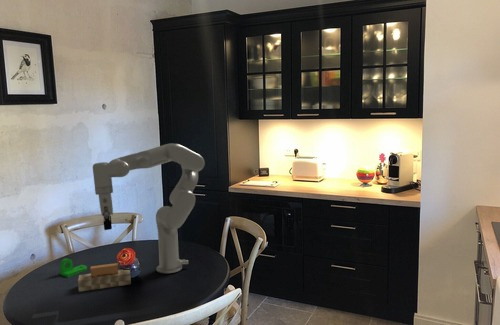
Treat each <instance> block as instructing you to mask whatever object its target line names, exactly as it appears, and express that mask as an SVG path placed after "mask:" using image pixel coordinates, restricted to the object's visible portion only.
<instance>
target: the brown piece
mask: <svg viewBox="0 0 500 325" xmlns="http://www.w3.org/2000/svg"><path fill="white" fill-rule="evenodd" d="M118 264H119V263H118V262H116V263H109V264H100V265H99V264H98V265H93V266H92V265H91V266H90V269H89V270H90V274H91V276H93V277H98V275H104V274H111V273H112V275H115V274H116V273H118V270H119V265H118Z"/></svg>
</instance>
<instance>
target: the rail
mask: <svg viewBox="0 0 500 325" xmlns="http://www.w3.org/2000/svg"><path fill="white" fill-rule="evenodd" d="M123 269H124V268H123ZM123 269H118V273H116V274H115V275H112V273H111V274H104V275H98V277H93V276H91V273H86V274H79V275H78V279H77V282H78V292H85V291H93V290H100V289H107V288H114V287H120V286H127V285H128V286H129V285H132V281H131V280H132V277H131V269H130V270H123Z"/></svg>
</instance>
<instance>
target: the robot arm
mask: <svg viewBox="0 0 500 325" xmlns="http://www.w3.org/2000/svg"><path fill="white" fill-rule="evenodd" d="M169 162H174V163H177V164H179V165H180V166H181V167H180V168H181V171H182V172H181V175H180V176H181V177H180V179H179V181H178V182H177V184H176V185H175V187H174V188H173V190H172V191H171V193H170V195H169V202H170V204H171V205H172V206H169V205H165V206H161V207H159V209H158V210H157V211H156V212H155V213H156V214H155V221H156V227H157V240H158V261H159V265H158V266H156V272H157V273H160V274H172V273H173V274H174V273H177V272H180V271H181V270H182V269H183V265H189V260H188V259H181V258H180V255H179V239H178V238H179V237H178V236H179V234H178V229H179V228H181V227H182V226H183V224H184V223H185V221H186V220H187V219H188V216H189V215H190V213H191V212H192V210H193V209H194V207H195V205H196V195H195V194H194V190H195V188H196V187H197V184H198V182H199V172H200V171H202V170H203V169H204V168H205V164H206V163H205V159H204V158H203V156H202V155H201V154H199V153H196V152H195V151H193V150H191V149H189V148H188V147H186V146H183V145H181V144H179V143H166V144H162V145H159V146H156V147H153V148H150V149H146V150H143V151H142V150H141V151H139V152H135V153H132V154H128V155H124V156H120V157H117V158H114V159H111V160H110V161H109V162H106V161H104V162H95V163H93V164H92V176H93V185H94V191H95V192H94V193H95V195H98V202H99V209H100V214H101V217H103V222H102V223H103V229H104V231H109V230H112V228H113V226H112V224H113V222H112V216H113V215H114V208H113V206H114V205H113V198H112V193H114V188H113V179H112V178H123V177H124V178H125V177H126V176H128V174H129V173H130V171H133V170H140V169H150V168H151V169H152V168H154V167H157V166H160V165H163V164H166V163H169Z"/></svg>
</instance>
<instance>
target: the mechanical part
mask: <svg viewBox="0 0 500 325" xmlns="http://www.w3.org/2000/svg"><path fill="white" fill-rule="evenodd" d="M66 264H67V265H66ZM73 264H74V263H73V261H72V259H70V258H66V257H65V258H63V259H62V260H61V261H60V263H59V272H60V275H61V276H63V277H66V278H71V277H73V276H75V275H78V274H80V273H83V272H85V271H87V270H88V266H87V265H84V264H80V265H77V266H75V267H74V265H73Z"/></svg>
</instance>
